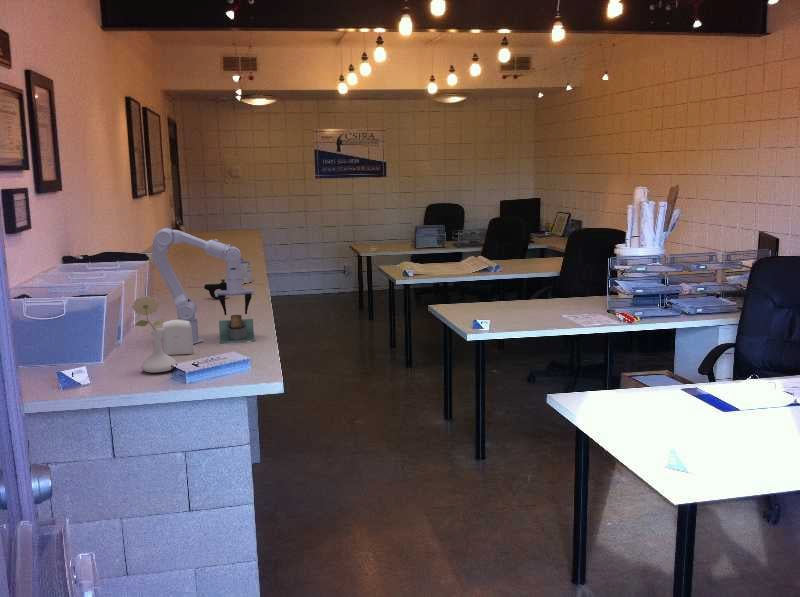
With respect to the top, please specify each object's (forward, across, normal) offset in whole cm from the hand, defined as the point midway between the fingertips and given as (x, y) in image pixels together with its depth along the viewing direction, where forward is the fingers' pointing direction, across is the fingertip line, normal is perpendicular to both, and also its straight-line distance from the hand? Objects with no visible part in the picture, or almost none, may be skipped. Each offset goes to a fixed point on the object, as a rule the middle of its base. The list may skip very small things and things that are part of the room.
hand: (235, 314), depth 280 cm
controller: (+10, +8, -94) cm, 95 cm away
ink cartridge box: (+10, -6, -144) cm, 144 cm away
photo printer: (+10, +21, +16) cm, 28 cm away
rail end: (+9, 0, 0) cm, 9 cm away
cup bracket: (+10, 0, 0) cm, 10 cm away
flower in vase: (+10, +26, +37) cm, 47 cm away
